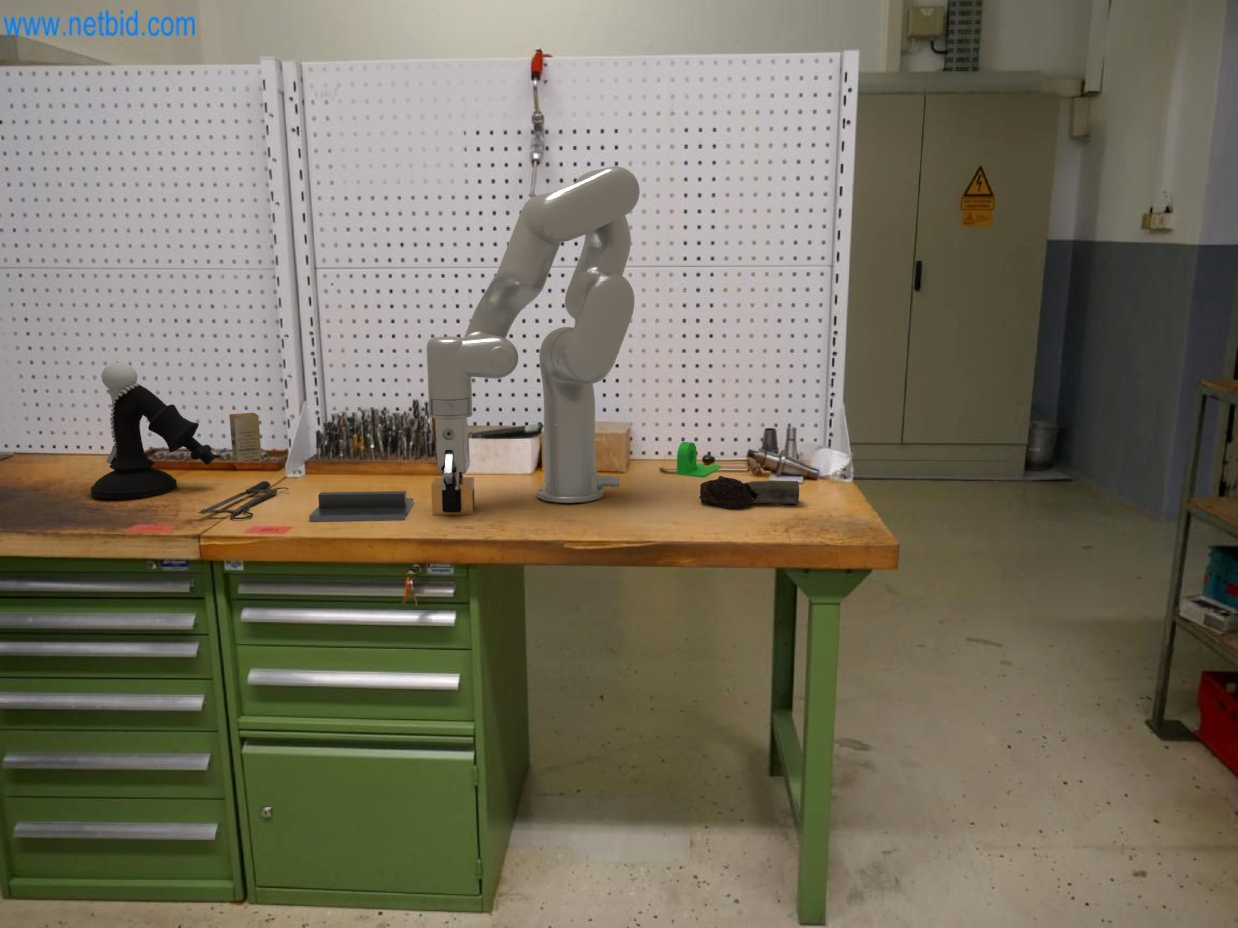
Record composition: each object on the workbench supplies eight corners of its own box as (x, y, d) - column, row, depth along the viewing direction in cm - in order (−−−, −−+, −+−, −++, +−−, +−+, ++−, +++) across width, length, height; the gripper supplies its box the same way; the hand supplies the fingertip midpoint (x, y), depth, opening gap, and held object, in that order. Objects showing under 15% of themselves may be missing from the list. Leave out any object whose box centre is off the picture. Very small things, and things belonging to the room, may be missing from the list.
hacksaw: (262, 486, 188) (261, 479, 188) (310, 485, 186) (309, 478, 186) (191, 521, 165) (190, 513, 164) (245, 520, 163) (244, 512, 163)
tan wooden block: (475, 506, 174) (474, 477, 173) (472, 514, 168) (471, 484, 167) (436, 507, 173) (435, 477, 172) (432, 515, 167) (431, 485, 166)
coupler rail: (413, 503, 176) (412, 484, 175) (403, 519, 164) (403, 500, 163) (325, 504, 175) (324, 486, 174) (309, 521, 163) (308, 501, 162)
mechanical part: (703, 485, 192) (704, 446, 191) (676, 482, 195) (677, 443, 194) (725, 474, 203) (726, 437, 201) (699, 471, 206) (700, 435, 204)
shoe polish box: (257, 466, 209) (253, 412, 206) (262, 470, 205) (258, 415, 202) (233, 469, 206) (229, 414, 204) (238, 473, 202) (233, 417, 200)
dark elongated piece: (796, 501, 175) (795, 471, 174) (800, 509, 168) (800, 478, 167) (699, 503, 176) (699, 473, 175) (700, 511, 169) (700, 480, 168)
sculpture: (114, 481, 194) (101, 358, 189) (232, 480, 195) (222, 358, 190) (75, 498, 179) (60, 366, 174) (202, 498, 180) (191, 366, 175)
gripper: (468, 414, 159) (471, 519, 162) (475, 401, 175) (478, 495, 179) (422, 415, 158) (426, 519, 162) (434, 401, 175) (438, 496, 178)
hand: (453, 506), depth 170 cm, fingers closed on tan wooden block, 6 cm apart
